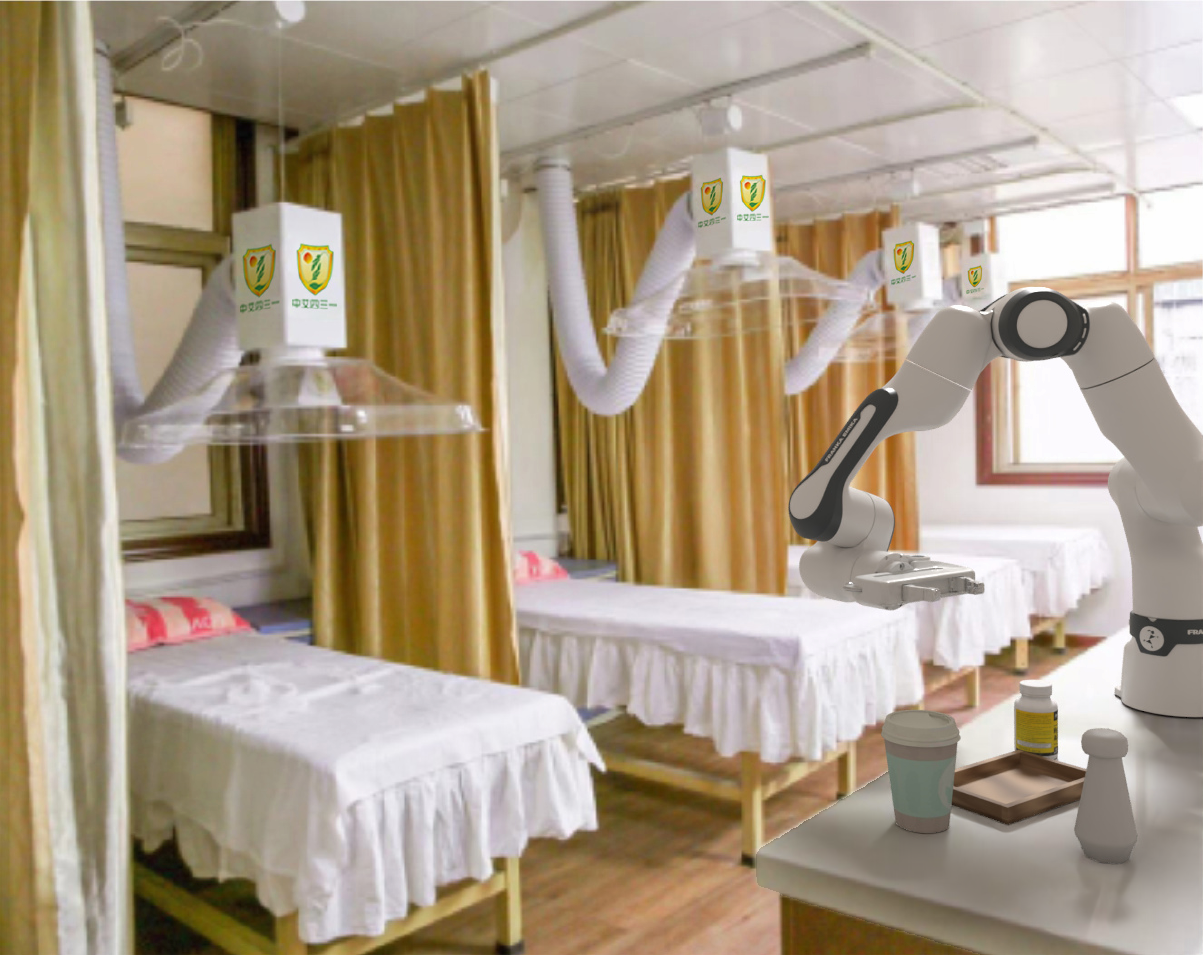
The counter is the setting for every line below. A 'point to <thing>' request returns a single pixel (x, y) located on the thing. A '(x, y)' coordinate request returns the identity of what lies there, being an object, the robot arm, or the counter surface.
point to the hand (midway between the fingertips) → (959, 592)
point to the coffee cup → (921, 767)
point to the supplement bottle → (1036, 719)
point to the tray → (1016, 786)
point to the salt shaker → (1105, 799)
